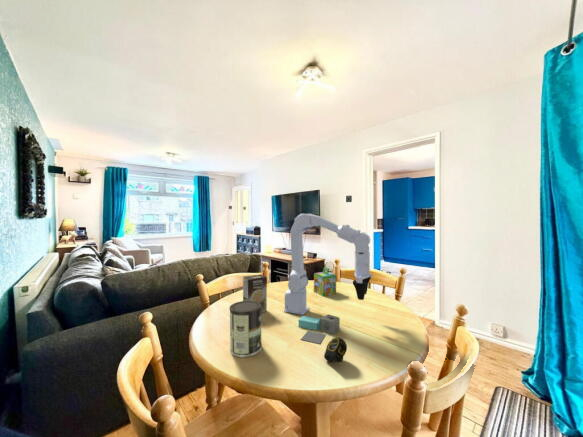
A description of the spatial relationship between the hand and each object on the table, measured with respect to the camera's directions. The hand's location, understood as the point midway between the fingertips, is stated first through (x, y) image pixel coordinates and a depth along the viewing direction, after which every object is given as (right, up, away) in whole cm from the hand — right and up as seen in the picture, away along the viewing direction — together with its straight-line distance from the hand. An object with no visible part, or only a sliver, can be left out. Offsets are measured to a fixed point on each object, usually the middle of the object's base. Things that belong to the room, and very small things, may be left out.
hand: (362, 296), depth 99 cm
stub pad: (-21, -11, -12) cm, 26 cm away
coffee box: (-45, -11, +12) cm, 48 cm away
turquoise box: (-21, -11, -3) cm, 24 cm away
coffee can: (-44, -11, -19) cm, 49 cm away
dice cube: (-14, -11, -7) cm, 19 cm away
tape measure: (-15, -11, -27) cm, 33 cm away
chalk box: (-10, -11, +36) cm, 39 cm away
